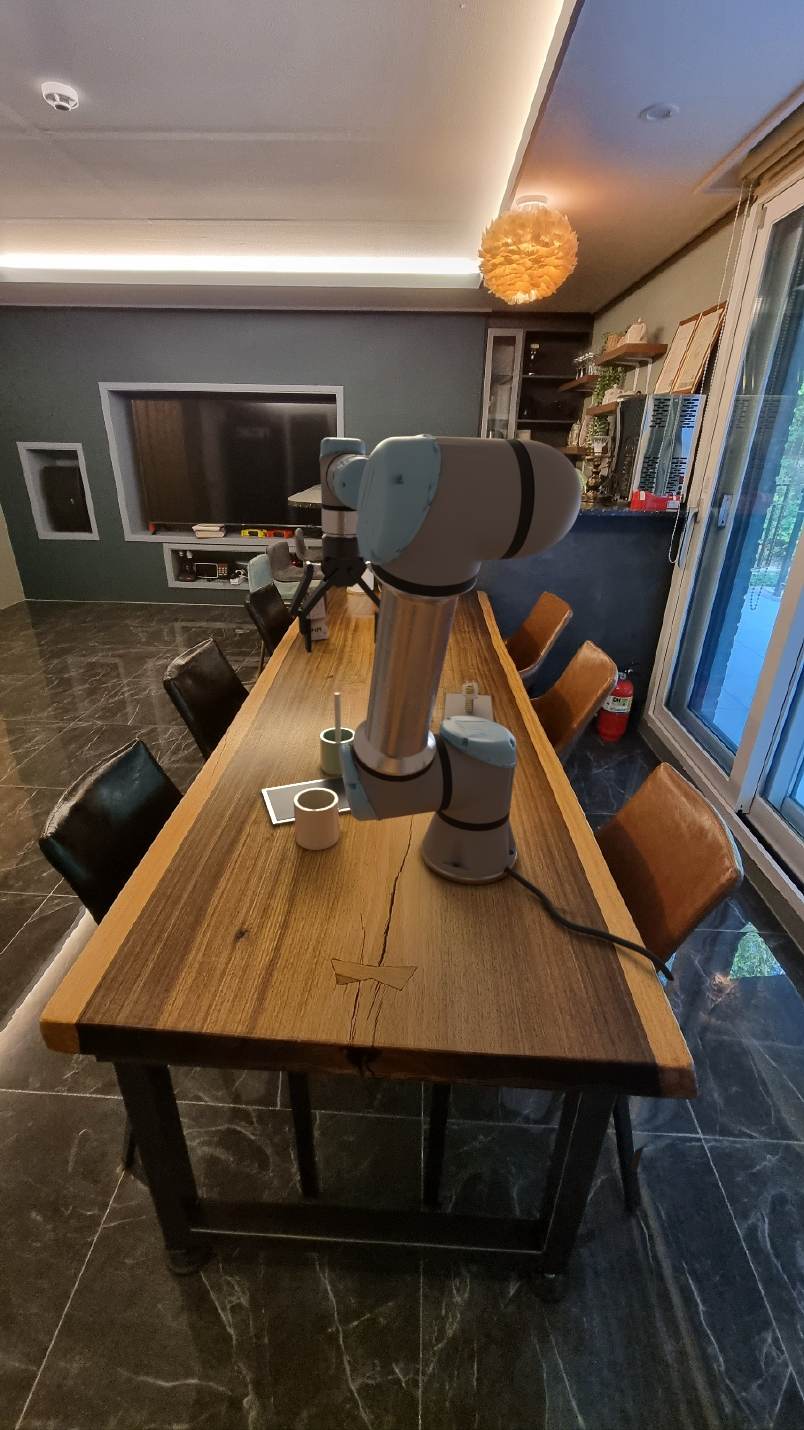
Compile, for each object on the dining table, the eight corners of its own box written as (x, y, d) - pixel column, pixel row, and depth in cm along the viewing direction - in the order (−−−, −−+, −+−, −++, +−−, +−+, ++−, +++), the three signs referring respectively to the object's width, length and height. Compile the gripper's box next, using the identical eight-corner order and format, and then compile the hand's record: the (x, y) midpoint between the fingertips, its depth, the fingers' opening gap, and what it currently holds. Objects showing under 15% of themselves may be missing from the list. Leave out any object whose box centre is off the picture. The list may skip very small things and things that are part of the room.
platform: (443, 720, 149) (445, 695, 146) (446, 693, 165) (447, 670, 162) (493, 723, 148) (496, 698, 145) (490, 695, 164) (492, 672, 161)
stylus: (342, 766, 125) (341, 694, 119) (336, 767, 125) (335, 694, 118) (340, 764, 126) (339, 692, 120) (335, 765, 126) (333, 692, 119)
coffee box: (328, 638, 207) (327, 591, 201) (310, 640, 205) (308, 593, 198) (320, 631, 215) (318, 586, 208) (302, 633, 212) (300, 587, 206)
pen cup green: (360, 773, 124) (360, 740, 121) (326, 779, 121) (325, 745, 118) (350, 757, 130) (350, 725, 127) (317, 762, 128) (316, 730, 124)
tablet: (367, 810, 111) (367, 805, 111) (273, 828, 106) (273, 823, 105) (348, 779, 122) (348, 774, 121) (261, 793, 116) (261, 789, 115)
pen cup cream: (343, 844, 102) (343, 806, 99) (301, 853, 99) (299, 814, 96) (332, 821, 108) (331, 784, 105) (291, 829, 105) (289, 791, 102)
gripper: (403, 528, 115) (399, 636, 124) (268, 531, 107) (275, 645, 117) (416, 536, 108) (411, 649, 118) (274, 539, 101) (281, 659, 110)
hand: (343, 647), depth 117 cm, fingers open, 13 cm apart
